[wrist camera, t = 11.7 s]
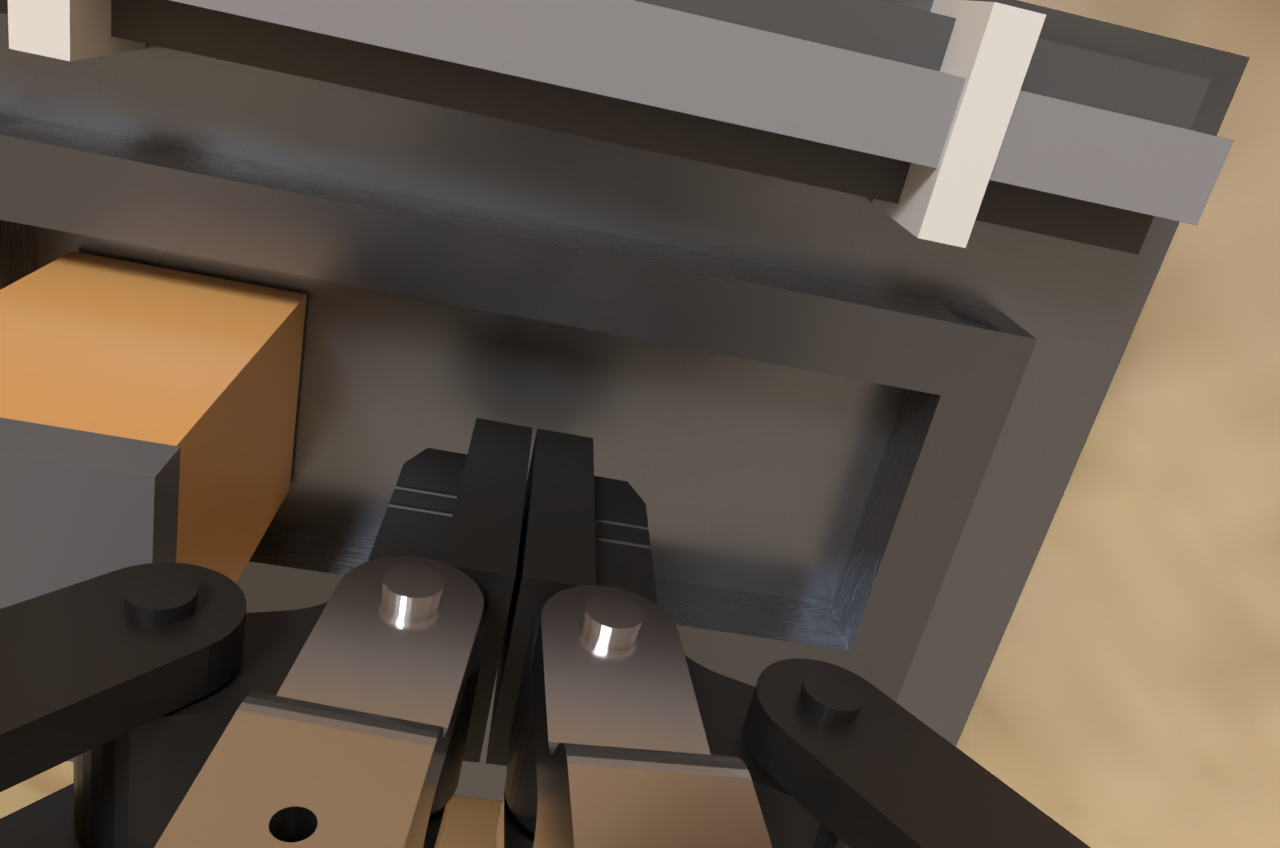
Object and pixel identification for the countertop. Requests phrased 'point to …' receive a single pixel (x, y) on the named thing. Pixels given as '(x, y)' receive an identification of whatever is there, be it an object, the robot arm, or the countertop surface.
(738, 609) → the breaker panel
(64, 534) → the lever
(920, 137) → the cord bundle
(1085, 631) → the countertop surface
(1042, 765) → the countertop surface
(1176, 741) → the countertop surface
